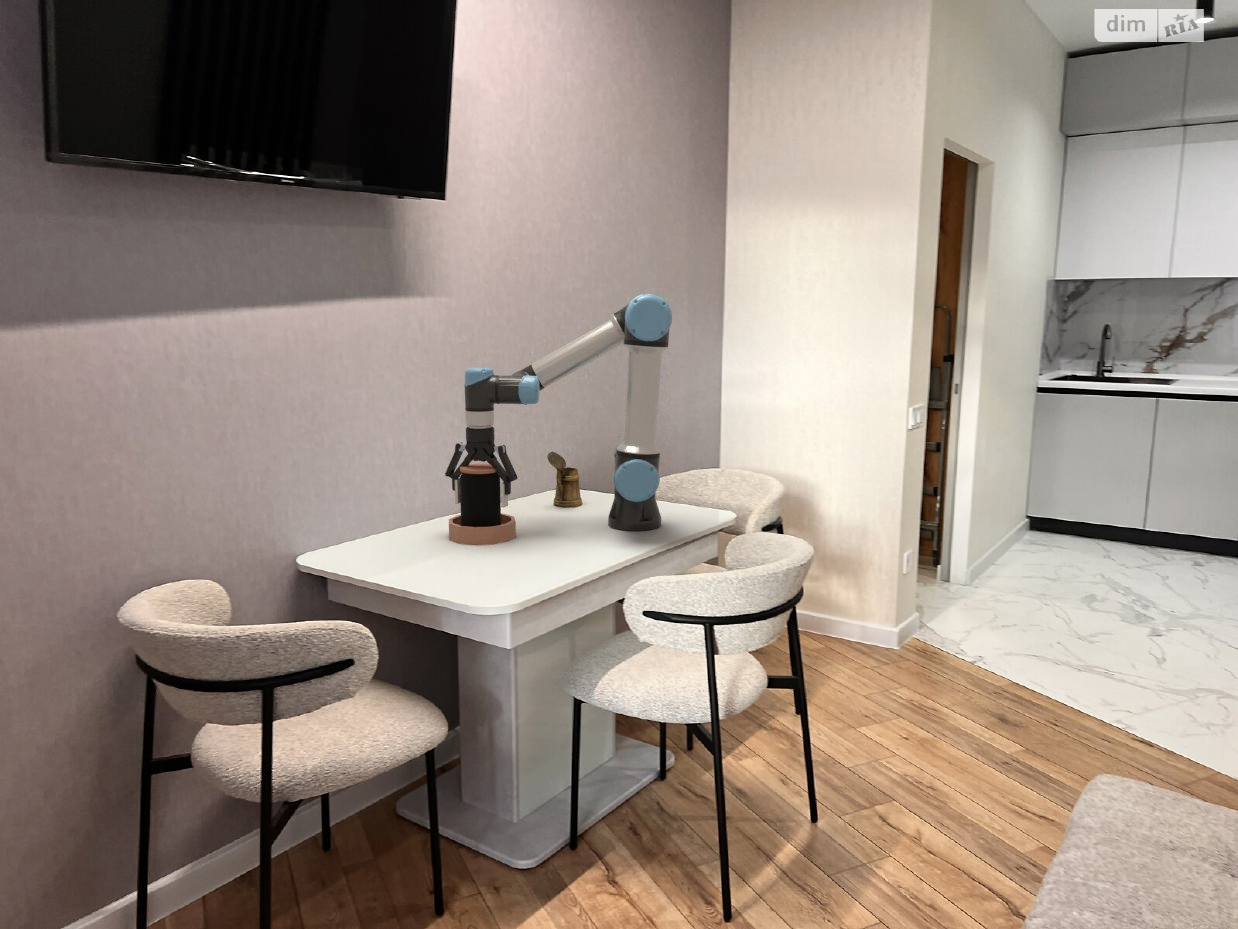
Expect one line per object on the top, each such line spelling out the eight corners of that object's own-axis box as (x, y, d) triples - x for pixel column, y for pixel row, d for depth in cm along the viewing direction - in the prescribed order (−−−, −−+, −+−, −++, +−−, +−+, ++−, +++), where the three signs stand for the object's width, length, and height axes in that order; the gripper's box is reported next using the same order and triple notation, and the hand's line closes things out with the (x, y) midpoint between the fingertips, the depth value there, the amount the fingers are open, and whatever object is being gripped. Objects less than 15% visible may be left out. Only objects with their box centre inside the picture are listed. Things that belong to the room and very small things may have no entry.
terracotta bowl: (525, 531, 258) (525, 515, 257) (497, 547, 242) (497, 530, 241) (468, 526, 264) (467, 510, 263) (437, 541, 247) (436, 524, 246)
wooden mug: (539, 508, 286) (539, 450, 283) (563, 500, 298) (563, 444, 294) (564, 511, 282) (564, 452, 279) (587, 503, 293) (587, 446, 290)
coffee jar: (505, 528, 257) (504, 463, 254) (495, 538, 247) (494, 471, 244) (467, 527, 258) (465, 462, 255) (456, 536, 248) (454, 470, 245)
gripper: (529, 426, 247) (530, 505, 251) (444, 422, 255) (447, 498, 258) (517, 430, 240) (518, 511, 244) (431, 425, 248) (433, 504, 251)
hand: (481, 504), depth 251 cm, fingers open, 13 cm apart
